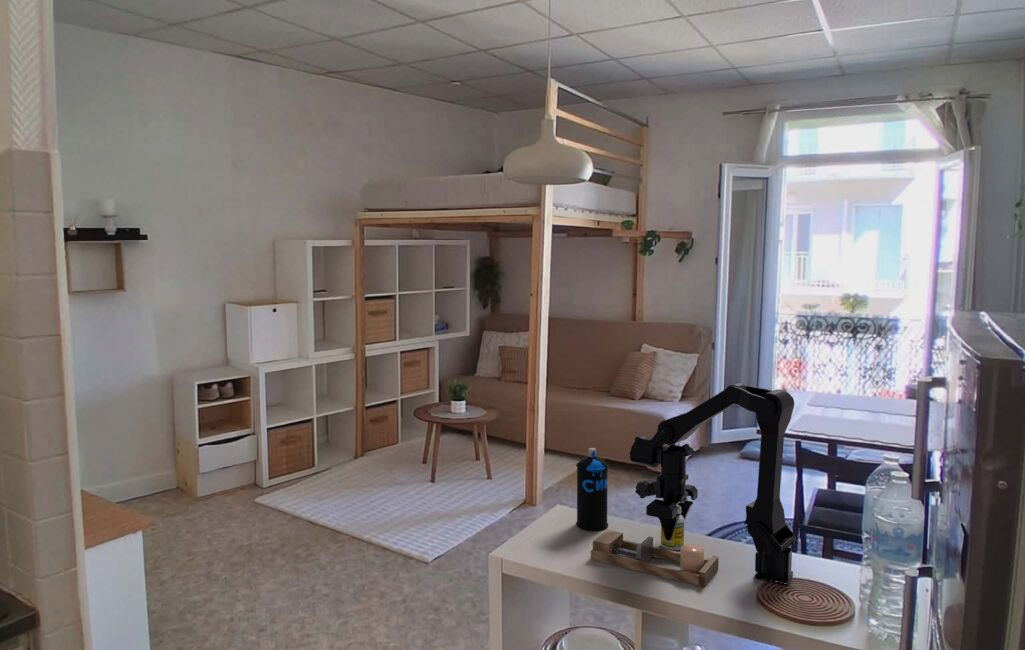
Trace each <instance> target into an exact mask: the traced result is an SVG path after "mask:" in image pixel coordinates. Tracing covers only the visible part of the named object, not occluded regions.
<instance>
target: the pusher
mask: <svg viewBox="0 0 1025 650" xmlns="http://www.w3.org/2000/svg"><path fill="white" fill-rule="evenodd" d="M653 547H654V536H648V537H646V538H645V539H644V540H643V541H642V542H640V544H639V545H638V546H637V551H632V550H628V549H623V548H618V549H617V550H616V555H620V556H624V557H628V558H633V559H636V560H640V561H644V562H648V563H649V561H650V560H651V559H652V558H653Z"/></svg>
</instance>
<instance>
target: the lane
mask: <svg viewBox="0 0 1025 650" xmlns="http://www.w3.org/2000/svg"><path fill="white" fill-rule="evenodd" d="M639 544H641V542H640V543H639V542H635V541H630V540H626V539H624V532H619V531H615V530H610V529H605V531H604V532H602V533H600V534H599V535H598V536H597V537H595V538H594V539H593V540H592V549H591V550H590V560H594V561H596V562H601V563H605V564H608V565H614V566H617V567H622V568H626V569H630V570H634V571H638V572H642V573H646V574H651V575H654V576H659V577H662V578H666V579H670V580H675V581H678V582H679V581H680V582H682V583H683V582H684V583H688V584H689V585H695V586H698V587H699V586H700V587H703V588H705V587H706V586H707V585H708V583H709V582H710V581H711V579H712V578H713V577H714V576H715V574H717V572H718V571H719V556H717V555H712V556H711V557H710V558H706V557H704V566H703V568H702V569H701V570H700V571H699V574H695V573H690V572H686V571H682V570H680V569H677V568H673V567H670V566H664V565H661V564H660V565H659V564H655V563H651V562H649V561H648V562H644V561H640V560H636V558H632V557H628V556H624V555H620V554H614V553H612V551H617V549H618V548H623V549H628V550H632V551H637V546H638V545H639ZM653 557H654V558H658V559H662V560H667V561H671V562H675V563H679V564H680V551H676V550H669V549H665V548H663V547H657V546H653ZM653 557H652V558H653Z"/></svg>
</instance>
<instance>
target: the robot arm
mask: <svg viewBox="0 0 1025 650" xmlns="http://www.w3.org/2000/svg"><path fill="white" fill-rule="evenodd" d="M735 405H737V406H739V407H741V408H743V409H745V410H747V411H749V412H753V413H755V417H756V422H757V425H758V428H759V430H760V448H759V463H758V476H757V477H758V478H757V490H756V499H755V500H754V501H752V502H750V503H749V504H747V505H745V514H746V515H745V520H744V523H743V524H744V525H746V529H747V530H746V531H747V534H748V535H749V536H750V537H751V538H752V541H753V544H754V548H755V550H756V552H755V554H754V555H755V558H754V560H755V561H754V571H755V572H756V573H755V575H754V577H755V578H756V579H760V580H764V581H768V580H772V581H778V582H782V583H788V582H790V581H789V580H791V579H792V577H793V576H794V571H792V567H793V566H792V563H793V561H792V560H793V548H792V547H791V546H793V545H794V544H795V542H796V540H797V536H796V534H795V533H794V532H793V530H792V529H790V527H789V526H788V525H787V524H786V517H785V509H784V506H783V504H782V501H781V485H782V484H781V482H782V471H783V470H782V469H783V457H784V455H783V454H784V444H785V443H784V442H785V433H786V431H787V429H788V427H789V424H790V422H791V419H792V415H793V412H794V408H795V399H794V396H792V395H791V394H790V393H789V392H788V391H786V390H784V389H774V390H771V389H768V388H765V387H764V388H762V387H759V386H751V385H748V384H745V383H742V382H738V383H737V382H736V383H734V384H731V385H728V386H727V387H726V388H725V389H724V390H722V391H720V392H719V393H716V394H715V395H714V396H712V397H710V398H708V399H707V400H705V401H704V402H702V403H701V404H699V405H697V406H695V407H694V408H692V409H690V410H689V411H687V412H684V413H682V414H679V415H676V416H673V417H670V418H668V419H664V420H662V421H660V422H659V424H658V425H657V432H656V433H655V434H654V435H653V437H652V438H650V437H646V436H643V435H637V436H635V437H634V442H633V443H632V446H631V449H630V451H629V458H630V461H631V463H633V464H636V465H640V466H646V467H650V468H657V467H658V466H659V465H660V474H659V475H658V476H657V477H656V478H652V479H647V480H646V479H645V480H643V481H640V480H639V481H638V482H637V483H636V486H635V494H636V495H638V496H639V498H640V499H644V498H646V497H647V498H648V497H653V496H655V499H653V500H652V501H651V502H649V504H647V505H646V508H645V515H647V516H648V517H653V518H658V520H659V522H660V526H661V525H662V529H663V532H664V535H665V539H666V540H671V537H672V535H673V532H674V530H675V527H676V524H677V521H678V519H679V516H680V514H678V513H677V512H678V507H677V506H676V505H679V506H681V515H682V516H683V517H684V521H685V519H686V518H687V516H688V514H689V512H690V510H691V508H692V506H693V504H694V502H693V501H695V500H696V499H697V498H698V495H699V492H698V491H699V490H698V489H697V487H696V486H695V485H691V484H687V483H686V481H688V480H689V474H687V471H686V470H687V468H686V467H687V457H690V456H692V455H694V454H695V453H696V452H695V450H694V449H693V448H692V447H691V446H690V445H689V443H685V444H682V445H678V444H677V443H680V442H682V441H685V440H687V439H688V438H690V437H691V436H692V435H693V434H694V433H695V432H696V431H697V430H698V428H699V427H700V426H702V424H705V423H706V422H708V421H709V420H712V419H713V418H714V417H716V416H718V415H720V414H722V413H723V412H725V411H727V410H729V409H730V408H732V407H733V406H735ZM676 444H677V445H676ZM665 445H667V446H665ZM688 497H690V498H691V500H688ZM772 581H771V582H772ZM788 584H789V583H788Z"/></svg>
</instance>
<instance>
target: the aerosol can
mask: <svg viewBox="0 0 1025 650" xmlns="http://www.w3.org/2000/svg"><path fill="white" fill-rule="evenodd" d="M575 465H576V469H577V470H576V523H575V525H576V528H578V529H580V530H582V531H587V532H600V531H604V530H607V529H608V527H609V524H608V472H609V471H608V468H609V467H610V465H609V464H608V463H607V462H606V461H605V460H604V459H603V458H601V457H600V456H599V457H598V456H597V449H596V447H589V448H588V455H587V456H585V457H583V458H581V459H580V460H579V461H578V462H577V463H576V464H575Z"/></svg>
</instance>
